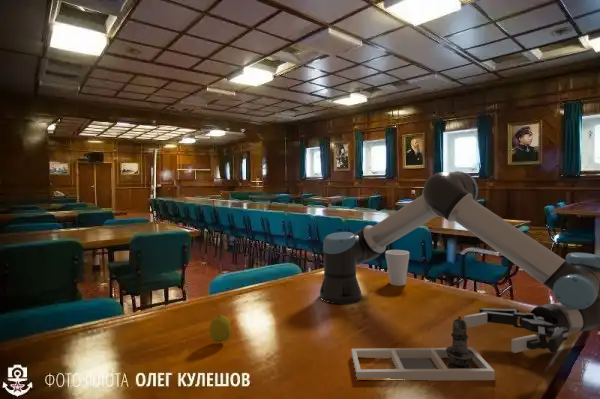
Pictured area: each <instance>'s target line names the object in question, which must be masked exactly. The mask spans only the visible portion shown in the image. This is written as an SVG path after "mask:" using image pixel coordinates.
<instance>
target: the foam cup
mask: <svg viewBox="0 0 600 399" xmlns="http://www.w3.org/2000/svg"><path fill="white" fill-rule="evenodd" d="M384 255H385V261H386V267H387V272H388V273H387V274H388V280H389V284H390V285H392V286H396V287H398V286H399V287H400V286H401V287H402V286H405V285H406V284H407V277H408V276H407V275H408V268H409V260H410V251H408V250H404V249H403V250H402V249H388V250H385V251H384Z"/></svg>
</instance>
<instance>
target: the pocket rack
mask: <svg viewBox="0 0 600 399" xmlns="http://www.w3.org/2000/svg"><path fill="white" fill-rule="evenodd" d="M447 348H448V347H397V348H394V347H393V348H392V347H390V348H389V347H385V348H382V347H381V348H380V347H379V348H377V347H375V348H371V347H370V348H351V350H350V351H351V360H352V359H353V361H352V364H353V363H354V365H353V369H354V368H355V370H354V373H355V372H356V374H355V378H356V377H357V379H358V378H359V379H360V378H361V379H363V378H364V379H366V378H368V379H369V378H376V379H377V378H379V379H380V378H381V379H383V378H390V379H403V380H404V379H405V380H428V381H495V380H496V379H495V378H496V377H495V376H496V371H495V370H494V368H493V367H492V366H491V365H490V364H489V363H488V362H487V361H486V360H485V359H484V358H483V357H482V355H481V354H480V353H478V352H477V351H476V350H475V348H474V347H467V348H468V349H469V350H471V351H472V352H473V353H474V357H473V358H472V362H473V363H474V364H475V366H477V367H478V368H472V369H449V368H448V366H447V365H446V364H445V363H444V361H443V360H442V359H449V358H448V355H447V353H446V349H447ZM358 357H391V358H392V359H391V358H390V359H391V362H392V361H393V362H392V364H393V363H394V364H393V366H394V365H395V366H394V368H390V369H389V368H384V369H383V368H380V369H379V368H377V369H370V368H369V369H368V368H367V369H363V368H362V367H361V365H360V360H359V359H358ZM399 357H400V358H399ZM433 362H434V363H433ZM435 365H436V366H435ZM395 367H396V368H395ZM437 368H438V369H437ZM357 379H356V380H357Z"/></svg>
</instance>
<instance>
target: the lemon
mask: <svg viewBox="0 0 600 399" xmlns="http://www.w3.org/2000/svg"><path fill="white" fill-rule="evenodd" d="M209 326H210V327H209V334H210V337H211V339H212V341H214V342H215V341H216V343H218V342H222V341H224V342H226V341H227V340H228V339H229V338H230V336H231V334H232V331H231V330H232V326H231V321H230V320H229V318H228V317H226V316H225V315H222V314H218V315H217V316H215V317H214V318H213V319H212V321H211V322H210V325H209ZM225 340H226V341H225Z"/></svg>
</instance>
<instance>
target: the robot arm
mask: <svg viewBox="0 0 600 399" xmlns="http://www.w3.org/2000/svg"><path fill="white" fill-rule="evenodd" d="M478 194H479V185H478V183H477V181H476V180H475V178H474V177H473V176H472V175H470V174H469V173H466V172H463V171H459V170H456V171H440V172H436V173H435V174H432V175H431V176H429V177H428V179H427V180H425V183H424V185H423V188H422V193H421V195H420V196H418V197H417V198H416V199H415V198H414V200H412V201H410V202H409V203H408V204H406V205H404V206H402V207H401V208H400V209H398V210H397V211H394V212H393V213H391V214H390V215H388V216H387V217H385V218H384V219H383V220H381V221H379V222H378V223H376V224H374V225H369V224H368V225H366V226H364V227H363V228H362V229H361V228H360V229H359V230H358V231H356V232H355V233H353V232H352V231H351V232H350V231H338V232H333V233H330V234H327V235H326V236H325V237H324V239H323V246H322V250H323V252H322V253H323V279H322V282H321V283H322V284H321V287H320V290H319V298H320V297H321V298H322V299H323V300H325V301H329V302H333V303H350V304H355V303H357V302H359V301H360V300H361V299H362V291H361V287H360V284H359V282H358V279H357V266H358V265H360V264H363V263H367V262H370V261H371V262H372V261H373V260H375V259H377V258H378V257H380V255H381V254H383V253H385V252H386V249H387V246H388V245H390V244H391V243H393V242H395V241H397V240H399V239H401V238H402V237H404V236H406V235H408V234H409V233H410V232H413V231H414V230H416V229H417V228H419V227H422V226H423V225H424V224H427V223H428V222H430V221H431V220H433V219H435V218H436V217H439V218H444V219H445V220H447V221H448V222H456V223H457V224H459V225H460V226H461V227H463V229H466V230H467V231H468V232H470V233H471V234H472V235H473V236H476V237H477V238H479V240H481V241H482V242H484V243H485V244H486V245H487V246H489V247H490V248H492V249H493V250H495V251H497V253H499V254H501V255H502V256H503V257H505V258H507V259H508V260H509V261H510V262H511V263H513V264H515V265H516V266H517V267H519V268H520V269H521V270H522V271H524V272H526V273H527V274H528V275H529V276H531V277H533V278H534V279H535V280H537V281H538V282H540V283H541V284H542V285H544V286H545V287H546V288H548V289H549V290H550V291H552V292H553V295H554V298H555V299H556V301H558V302H554V303H548V304H544V305H538V306H535V307H534V308H533V309H531V311H530V312H525V313H524V312H520V309H519V308H518V307H517V308H487V307H484V308H483V307H480V308H479V313H474V314H473V313H472V314H468V315H464V317H463V321H465V322H466V325H467V328H472V327H477V326H482V325H487V324H488V323H492V324H500V325H509V326H513V327H514V328H516V329H517V328H518V329H524V330H527V331H529V332H533V334H530V335H525V336H520V337H515V338H511V339H510V340H511V345H510V346H511V347H510V349H511V351H510V352H512V353H514V354H515V353H516V354H517V353H521V352H525V351H530V350H536V349H541V350H546V349H548V351H549V352H551V353H552V354H553V353H557V352H558V350H559V348H560V347H561V345H562V344H563V342H564V341H567V340H568V337H569V334H570V335H571V334H574V333H580V332H587V331H590V330H597V329H600V255H597V254H593V253H588V252H570V253H568V254H566V256H565V259H564V258H562V256H560V255H558V254H557V253H555V252H554V251H552V250H550V248H548V247H546V246H544V245H543V244H541V243H540V242H538V241H537V240H535V239H534V238H532V237H531V236H529V235H527V234H526V233H525V232H523V231H522V230H520V229H518V228H517V227H516V226H514V225H512V224H511V223H510V222H508V221H506V220H505V219H503V218H502V217H501V216H499V215H498V214H496V213H494V212H492V211H491V210H490V209H488V208H487V207H485V206H483V205H482V204H481V203H479V202H477V201H476V199H477V197H478ZM323 300H322V301H323ZM325 301H324V302H325ZM354 302H355V303H354ZM518 320H519V323H518ZM534 333H537V334H534ZM547 338H549V339H547Z"/></svg>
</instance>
